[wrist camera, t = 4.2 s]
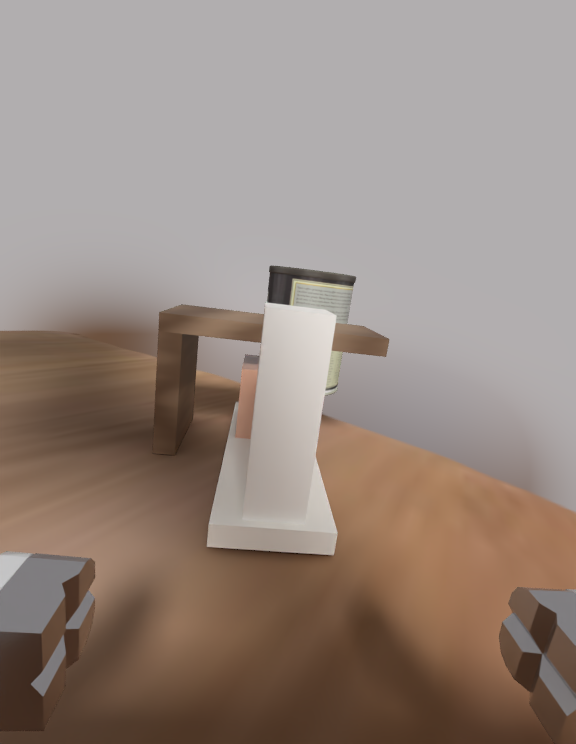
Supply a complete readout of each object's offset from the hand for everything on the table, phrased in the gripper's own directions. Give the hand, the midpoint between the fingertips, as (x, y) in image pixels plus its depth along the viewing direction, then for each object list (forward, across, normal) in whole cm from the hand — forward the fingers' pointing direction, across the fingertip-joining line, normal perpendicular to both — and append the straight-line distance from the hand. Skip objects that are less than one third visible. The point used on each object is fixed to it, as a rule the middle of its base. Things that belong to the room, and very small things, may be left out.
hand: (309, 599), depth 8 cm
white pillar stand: (+19, 0, +7) cm, 20 cm away
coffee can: (+42, -4, +7) cm, 42 cm away
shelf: (+23, 0, +7) cm, 24 cm away
